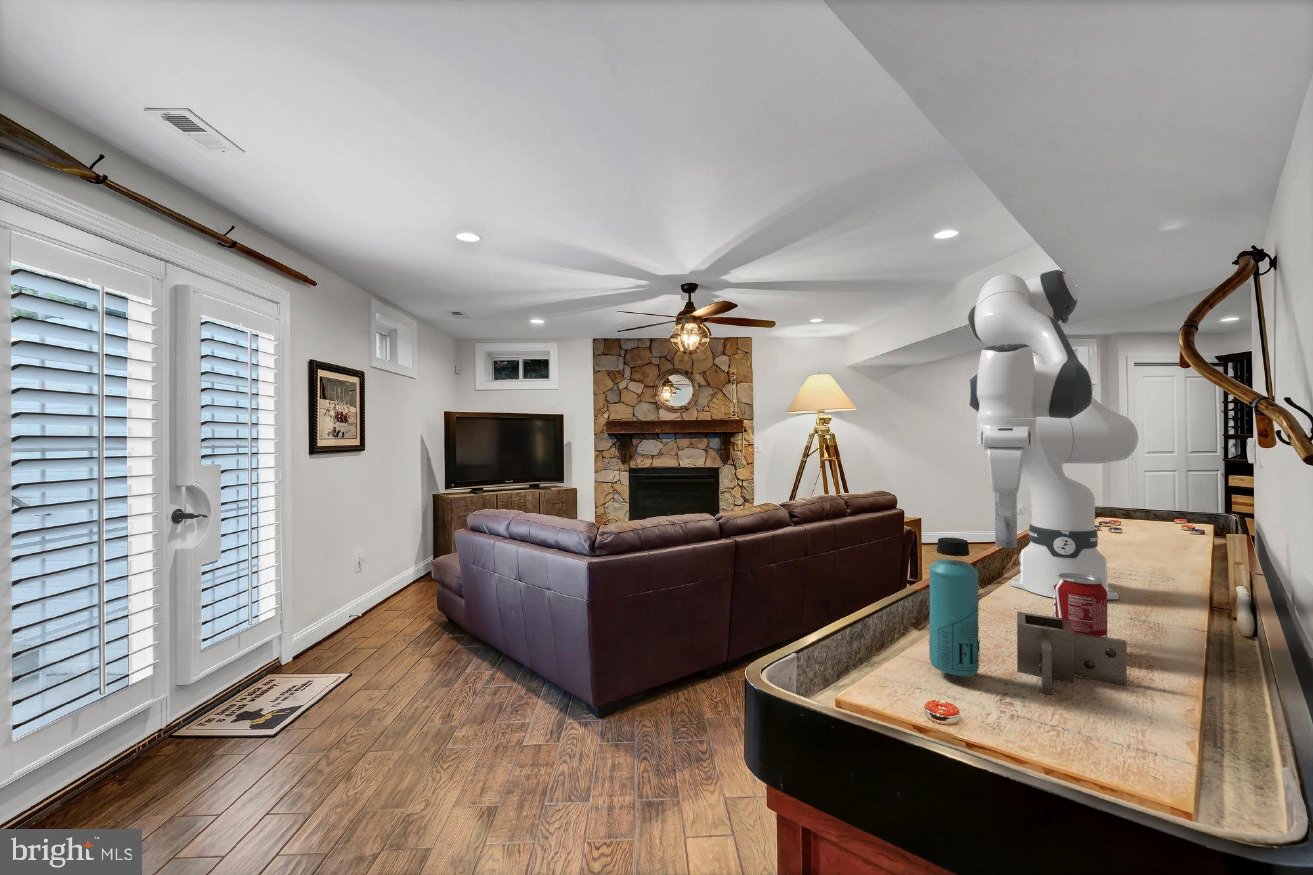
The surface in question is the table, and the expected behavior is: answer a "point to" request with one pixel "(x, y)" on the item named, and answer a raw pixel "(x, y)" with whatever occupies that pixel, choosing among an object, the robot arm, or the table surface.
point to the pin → (1006, 525)
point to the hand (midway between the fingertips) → (1005, 513)
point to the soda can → (1081, 603)
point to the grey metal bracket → (1067, 652)
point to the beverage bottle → (954, 611)
